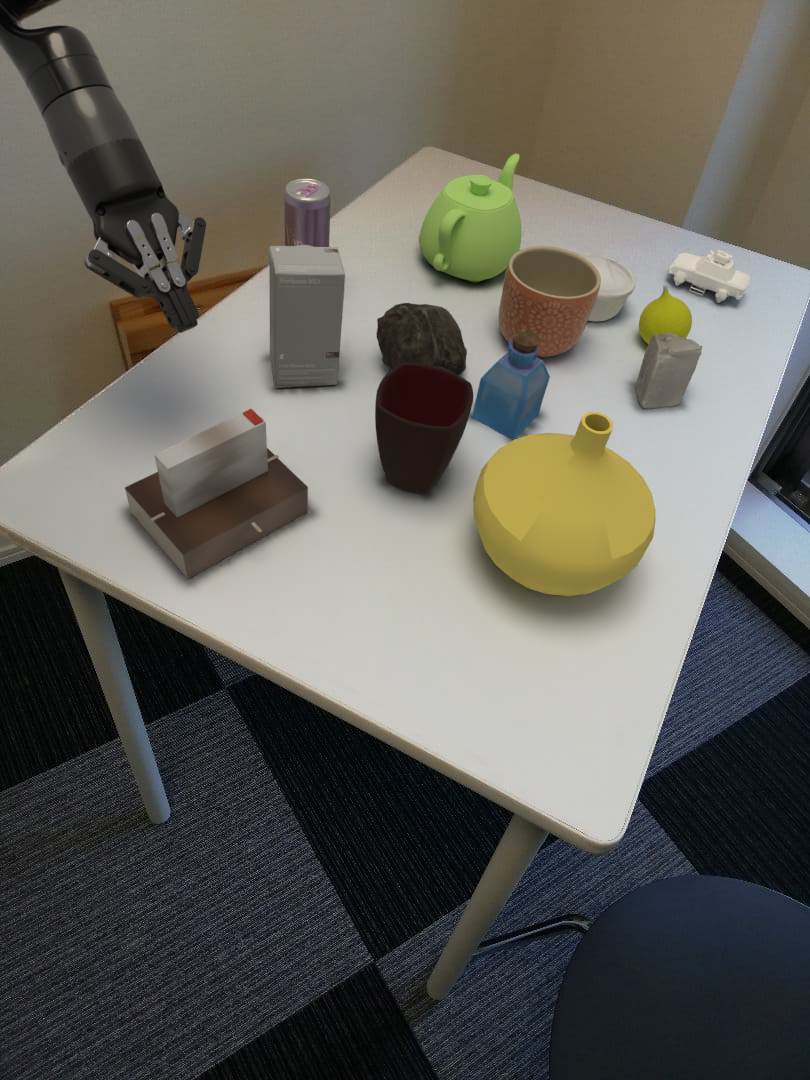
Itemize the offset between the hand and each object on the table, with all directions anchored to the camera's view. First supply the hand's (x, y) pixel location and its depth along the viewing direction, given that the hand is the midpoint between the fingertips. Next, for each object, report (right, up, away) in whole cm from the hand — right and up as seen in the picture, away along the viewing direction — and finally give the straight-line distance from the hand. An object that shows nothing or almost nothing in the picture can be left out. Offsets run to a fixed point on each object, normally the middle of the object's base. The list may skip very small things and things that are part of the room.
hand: (189, 328), depth 77 cm
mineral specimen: (+55, -1, +27) cm, 61 cm away
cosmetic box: (+9, +1, +22) cm, 24 cm away
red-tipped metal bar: (+2, -16, +3) cm, 16 cm away
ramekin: (+49, +14, +39) cm, 64 cm away
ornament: (+58, +7, +34) cm, 68 cm away
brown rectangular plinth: (+2, -18, +6) cm, 19 cm away
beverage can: (+8, +14, +33) cm, 37 cm away
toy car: (+69, +18, +45) cm, 84 cm away
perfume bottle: (+34, -6, +21) cm, 40 cm away
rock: (+24, +1, +25) cm, 34 cm away
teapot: (+32, +23, +43) cm, 58 cm away
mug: (+23, -12, +14) cm, 30 cm away
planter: (+40, +7, +32) cm, 51 cm away
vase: (+37, -23, +7) cm, 44 cm away
